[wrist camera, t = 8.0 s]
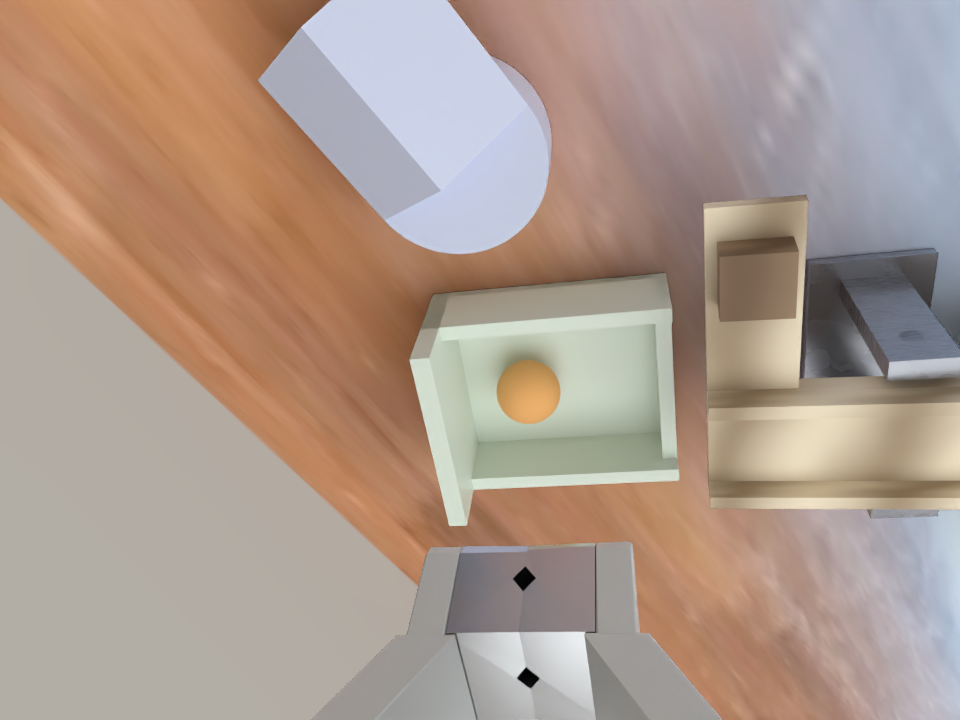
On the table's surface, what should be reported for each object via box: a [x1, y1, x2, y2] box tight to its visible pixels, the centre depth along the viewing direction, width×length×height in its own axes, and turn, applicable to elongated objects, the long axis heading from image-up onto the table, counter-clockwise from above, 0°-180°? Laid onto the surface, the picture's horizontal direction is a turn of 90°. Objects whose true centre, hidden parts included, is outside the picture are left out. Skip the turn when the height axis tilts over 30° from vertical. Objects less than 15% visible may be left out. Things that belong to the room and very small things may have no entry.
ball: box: [496, 360, 561, 424], centre depth 45 cm, size 4×4×4 cm
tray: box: [409, 273, 679, 526], centre depth 44 cm, size 13×11×7 cm
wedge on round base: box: [258, 0, 552, 254], centre depth 37 cm, size 9×7×13 cm
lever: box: [703, 195, 960, 510], centre depth 34 cm, size 18×15×6 cm
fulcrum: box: [802, 248, 960, 518], centre depth 39 cm, size 12×11×9 cm
